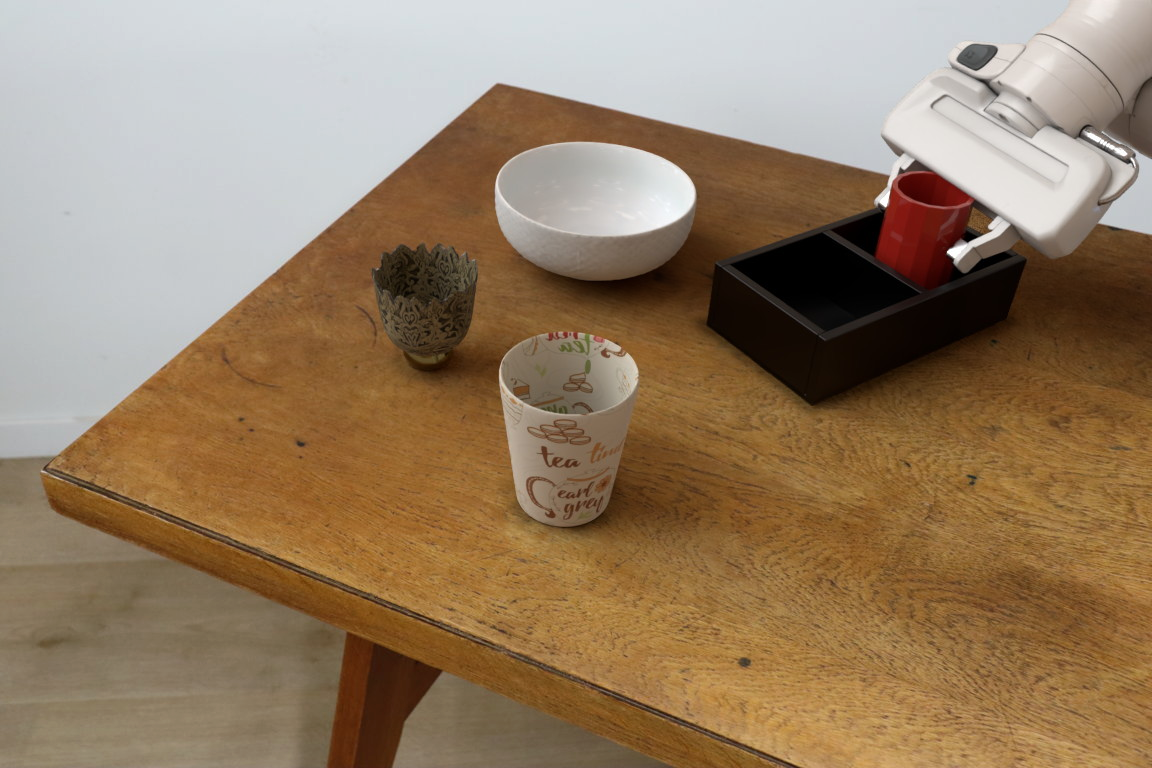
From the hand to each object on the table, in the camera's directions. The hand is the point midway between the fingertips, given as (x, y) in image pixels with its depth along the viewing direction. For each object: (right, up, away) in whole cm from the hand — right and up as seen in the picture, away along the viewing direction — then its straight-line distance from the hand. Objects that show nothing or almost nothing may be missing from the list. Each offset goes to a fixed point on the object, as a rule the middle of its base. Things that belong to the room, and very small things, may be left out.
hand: (916, 237), depth 88 cm
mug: (-27, -18, -14) cm, 36 cm away
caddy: (-4, -7, +2) cm, 8 cm away
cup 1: (-38, -10, -5) cm, 40 cm away
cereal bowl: (-26, -1, +8) cm, 27 cm away
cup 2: (0, -4, +4) cm, 6 cm away
